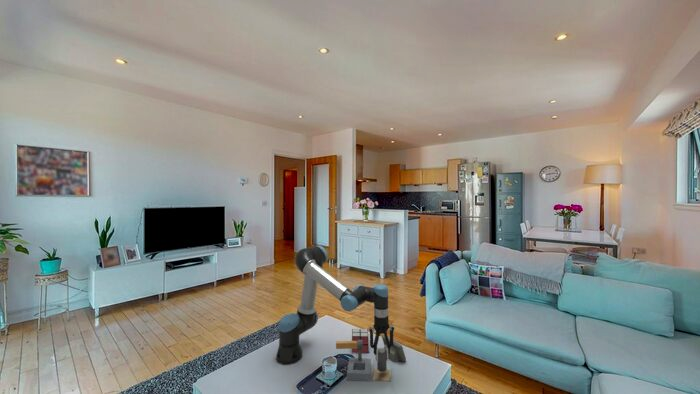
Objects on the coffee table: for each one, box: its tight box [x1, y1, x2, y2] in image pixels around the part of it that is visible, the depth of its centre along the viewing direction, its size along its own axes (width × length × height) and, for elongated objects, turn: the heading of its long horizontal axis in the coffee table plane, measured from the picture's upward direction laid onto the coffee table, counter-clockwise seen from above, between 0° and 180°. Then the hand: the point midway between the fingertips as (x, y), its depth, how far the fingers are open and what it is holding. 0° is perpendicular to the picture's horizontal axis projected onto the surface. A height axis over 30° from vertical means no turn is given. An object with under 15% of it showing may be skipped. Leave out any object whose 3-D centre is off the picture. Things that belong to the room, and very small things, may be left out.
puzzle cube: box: [351, 328, 370, 354], centre depth 169 cm, size 10×10×10 cm
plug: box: [376, 347, 388, 372], centre depth 143 cm, size 5×5×10 cm
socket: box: [346, 349, 372, 382], centre depth 146 cm, size 12×14×10 cm
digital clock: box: [381, 334, 407, 363], centre depth 160 cm, size 16×9×11 cm, turn 23°
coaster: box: [372, 368, 392, 382], centre depth 143 cm, size 9×9×1 cm
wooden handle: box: [335, 340, 363, 350], centre depth 151 cm, size 4×15×3 cm, turn 91°
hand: (381, 359), depth 143 cm, fingers closed on plug, 5 cm apart
